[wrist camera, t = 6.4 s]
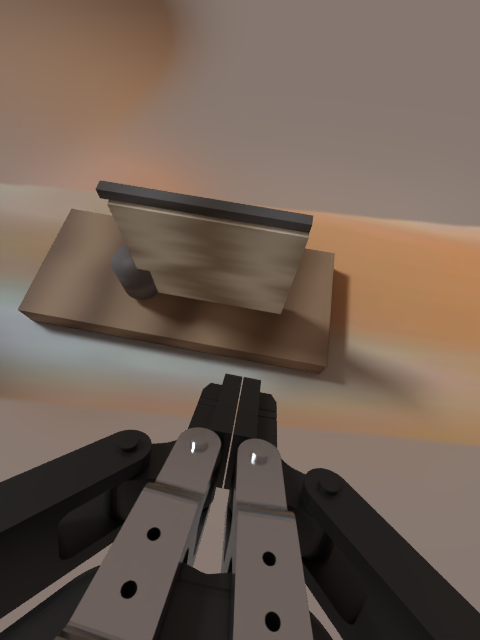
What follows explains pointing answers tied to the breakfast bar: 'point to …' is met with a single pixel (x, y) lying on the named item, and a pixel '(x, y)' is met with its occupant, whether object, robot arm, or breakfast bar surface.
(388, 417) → the breakfast bar surface
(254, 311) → the brown rectangular board
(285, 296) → the dark-edged wooden panel
